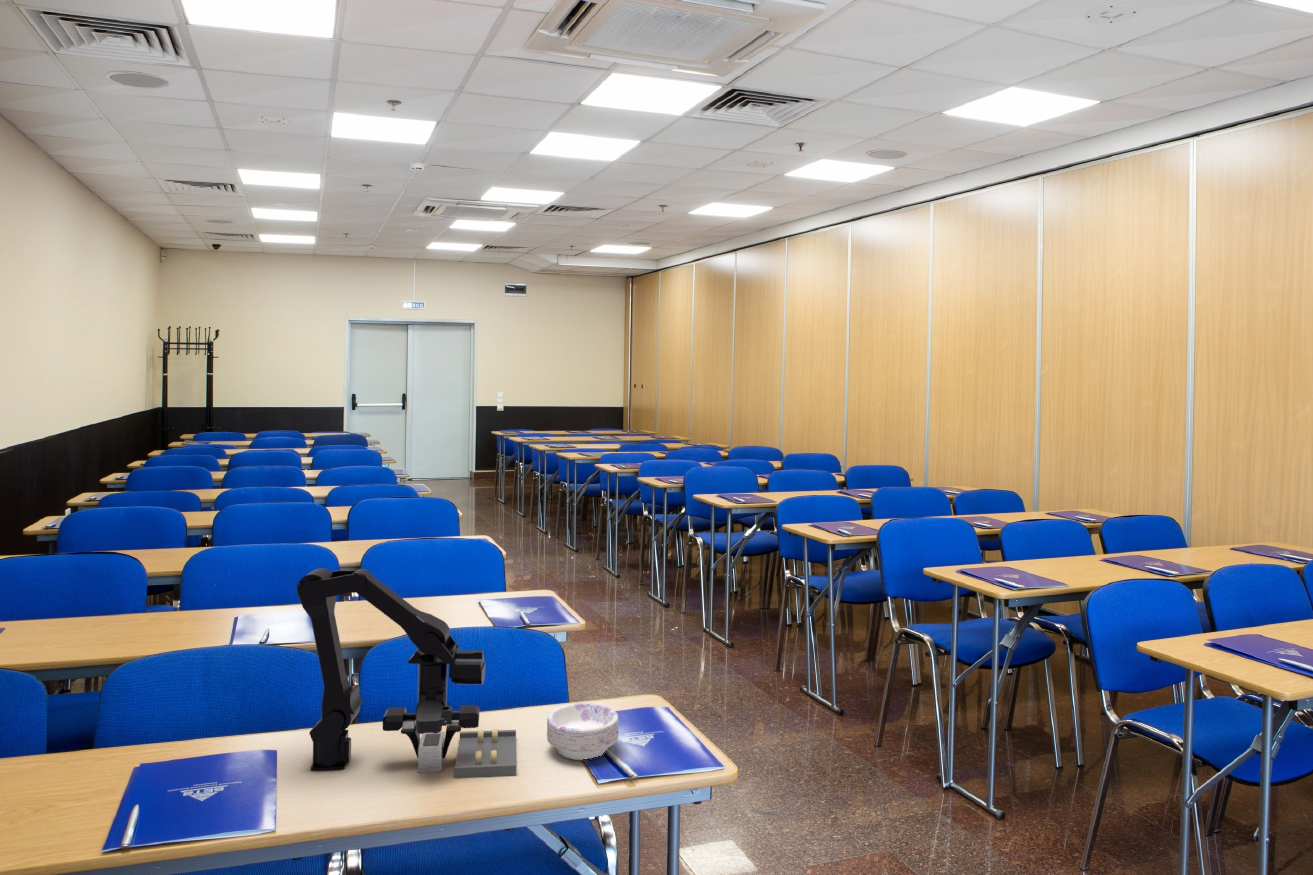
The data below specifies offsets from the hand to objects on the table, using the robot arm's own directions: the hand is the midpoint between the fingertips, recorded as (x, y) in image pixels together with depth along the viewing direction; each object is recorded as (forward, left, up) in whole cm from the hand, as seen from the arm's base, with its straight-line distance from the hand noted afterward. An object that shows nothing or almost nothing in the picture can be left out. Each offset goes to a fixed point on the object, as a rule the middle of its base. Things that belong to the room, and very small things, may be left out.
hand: (431, 758), depth 175 cm
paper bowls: (+31, +3, -1) cm, 31 cm away
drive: (0, 0, -1) cm, 1 cm away
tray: (+11, +2, -1) cm, 11 cm away
